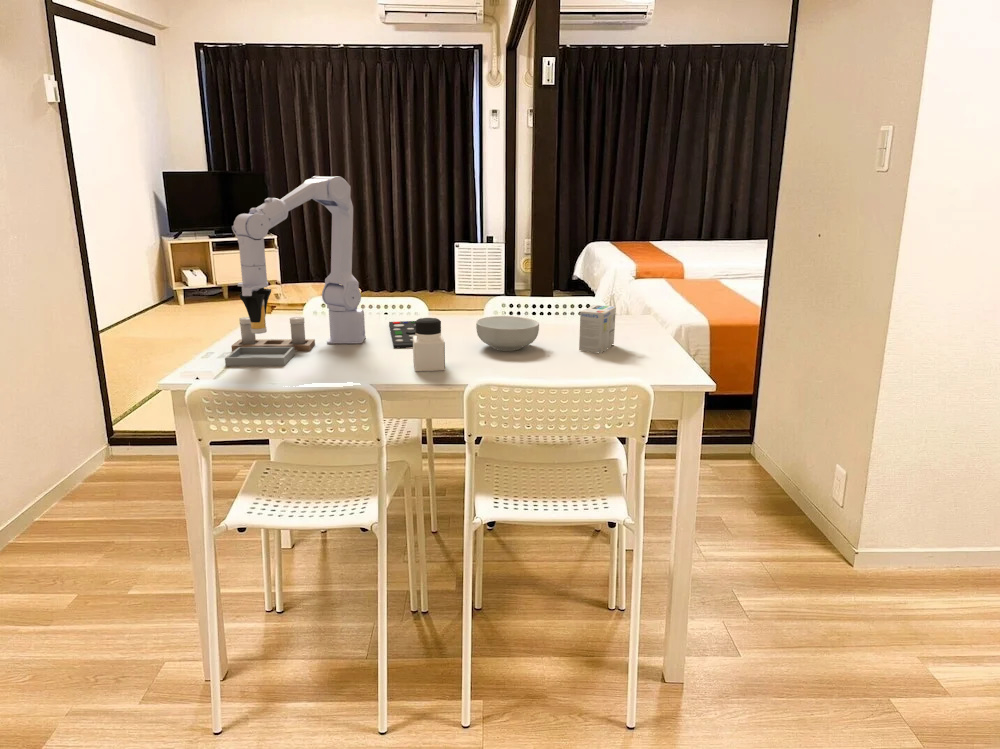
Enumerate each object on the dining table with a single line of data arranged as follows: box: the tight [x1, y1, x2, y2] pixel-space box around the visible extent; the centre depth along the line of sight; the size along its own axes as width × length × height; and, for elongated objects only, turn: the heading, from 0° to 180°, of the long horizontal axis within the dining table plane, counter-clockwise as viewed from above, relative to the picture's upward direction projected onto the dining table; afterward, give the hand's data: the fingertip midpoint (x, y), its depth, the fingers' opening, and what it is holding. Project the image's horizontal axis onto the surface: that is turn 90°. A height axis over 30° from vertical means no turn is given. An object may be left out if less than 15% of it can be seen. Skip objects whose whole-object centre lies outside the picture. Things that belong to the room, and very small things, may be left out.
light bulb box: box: [578, 304, 617, 354], centre depth 193 cm, size 11×7×11 cm, turn 154°
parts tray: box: [224, 347, 296, 367], centre depth 179 cm, size 14×11×2 cm
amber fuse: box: [250, 299, 268, 335], centre depth 177 cm, size 4×4×8 cm
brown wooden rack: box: [231, 338, 316, 352], centre depth 191 cm, size 20×7×2 cm, turn 92°
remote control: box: [388, 320, 416, 349], centre depth 207 cm, size 11×30×2 cm, turn 11°
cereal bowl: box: [475, 315, 540, 352], centre depth 193 cm, size 17×17×7 cm
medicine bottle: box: [412, 316, 446, 373], centre depth 173 cm, size 7×7×12 cm
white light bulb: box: [238, 316, 257, 344], centre depth 190 cm, size 4×4×8 cm
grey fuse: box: [289, 316, 306, 344], centre depth 191 cm, size 4×4×8 cm
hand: (258, 320), depth 177 cm, fingers closed on amber fuse, 3 cm apart
